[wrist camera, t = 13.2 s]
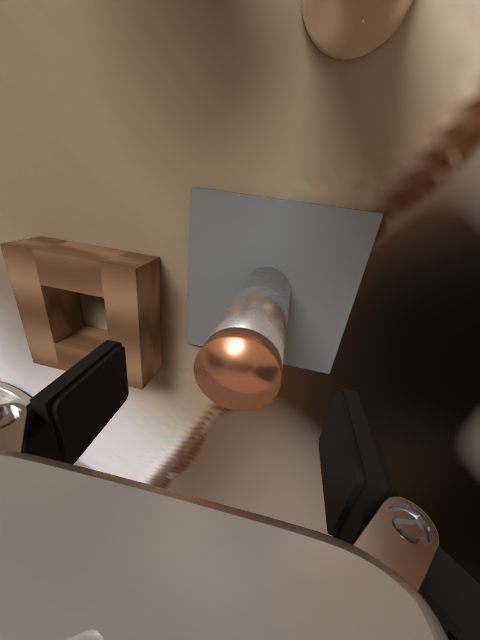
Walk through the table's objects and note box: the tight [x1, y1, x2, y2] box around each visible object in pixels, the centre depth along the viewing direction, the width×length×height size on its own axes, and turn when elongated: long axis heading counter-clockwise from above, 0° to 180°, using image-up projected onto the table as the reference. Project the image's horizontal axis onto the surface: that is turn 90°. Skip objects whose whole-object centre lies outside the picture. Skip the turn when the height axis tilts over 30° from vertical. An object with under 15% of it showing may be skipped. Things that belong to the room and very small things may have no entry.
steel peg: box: [194, 267, 291, 411], centre depth 17 cm, size 4×4×12 cm
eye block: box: [0, 236, 162, 389], centre depth 26 cm, size 12×12×4 cm
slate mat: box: [187, 187, 383, 374], centre depth 23 cm, size 14×14×1 cm
